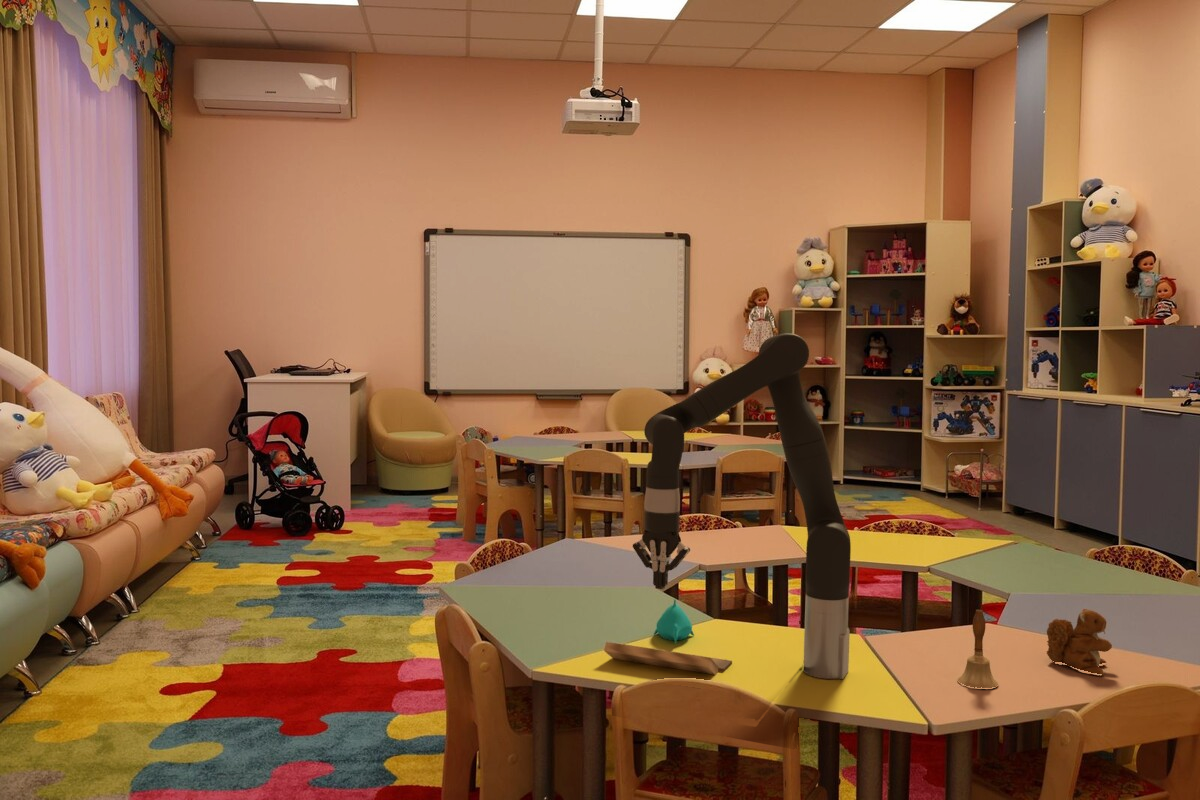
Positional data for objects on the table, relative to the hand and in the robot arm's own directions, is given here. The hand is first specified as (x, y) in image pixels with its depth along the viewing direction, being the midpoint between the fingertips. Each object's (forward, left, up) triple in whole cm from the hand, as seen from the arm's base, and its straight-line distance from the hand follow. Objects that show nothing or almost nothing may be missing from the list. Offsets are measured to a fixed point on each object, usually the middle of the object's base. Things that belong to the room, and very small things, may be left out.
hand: (660, 588), depth 219 cm
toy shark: (+5, -23, -19) cm, 31 cm away
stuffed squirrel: (-82, -49, -19) cm, 98 cm away
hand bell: (-63, -26, -19) cm, 71 cm away
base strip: (0, -8, -19) cm, 21 cm away
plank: (0, -1, -17) cm, 17 cm away
